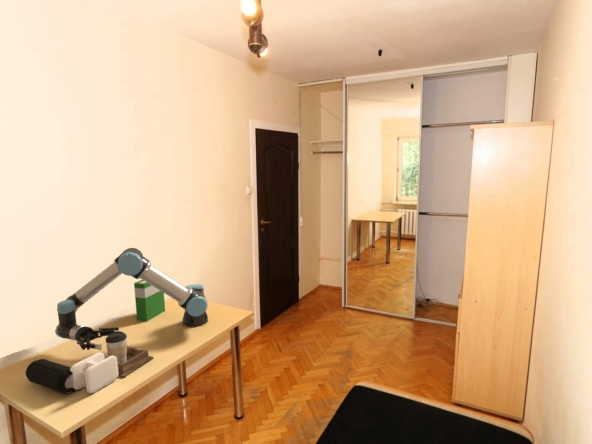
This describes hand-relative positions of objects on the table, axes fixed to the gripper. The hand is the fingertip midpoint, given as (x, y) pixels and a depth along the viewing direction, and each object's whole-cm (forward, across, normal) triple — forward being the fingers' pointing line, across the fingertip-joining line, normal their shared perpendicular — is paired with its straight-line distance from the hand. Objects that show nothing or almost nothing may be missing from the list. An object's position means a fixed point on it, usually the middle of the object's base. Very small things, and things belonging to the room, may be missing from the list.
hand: (113, 340), depth 176 cm
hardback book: (-26, -52, -11) cm, 59 cm away
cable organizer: (+8, +17, -11) cm, 22 cm away
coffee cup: (+4, +2, -10) cm, 11 cm away
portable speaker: (-8, +24, -11) cm, 28 cm away
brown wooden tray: (+6, 0, -11) cm, 13 cm away
